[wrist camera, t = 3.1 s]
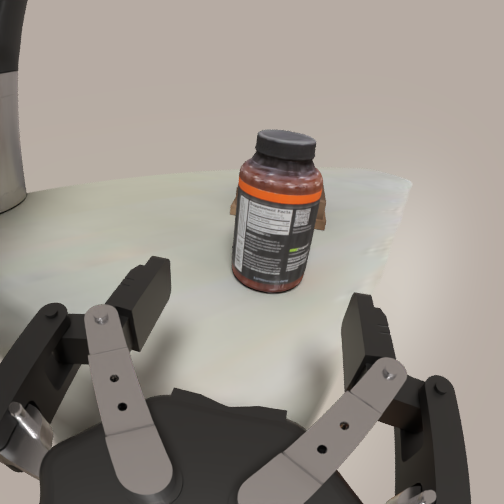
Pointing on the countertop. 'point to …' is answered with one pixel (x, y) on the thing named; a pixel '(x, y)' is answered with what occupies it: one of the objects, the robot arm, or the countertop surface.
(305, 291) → the countertop surface
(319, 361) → the countertop surface
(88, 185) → the countertop surface
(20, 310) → the countertop surface
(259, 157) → the supplement bottle
